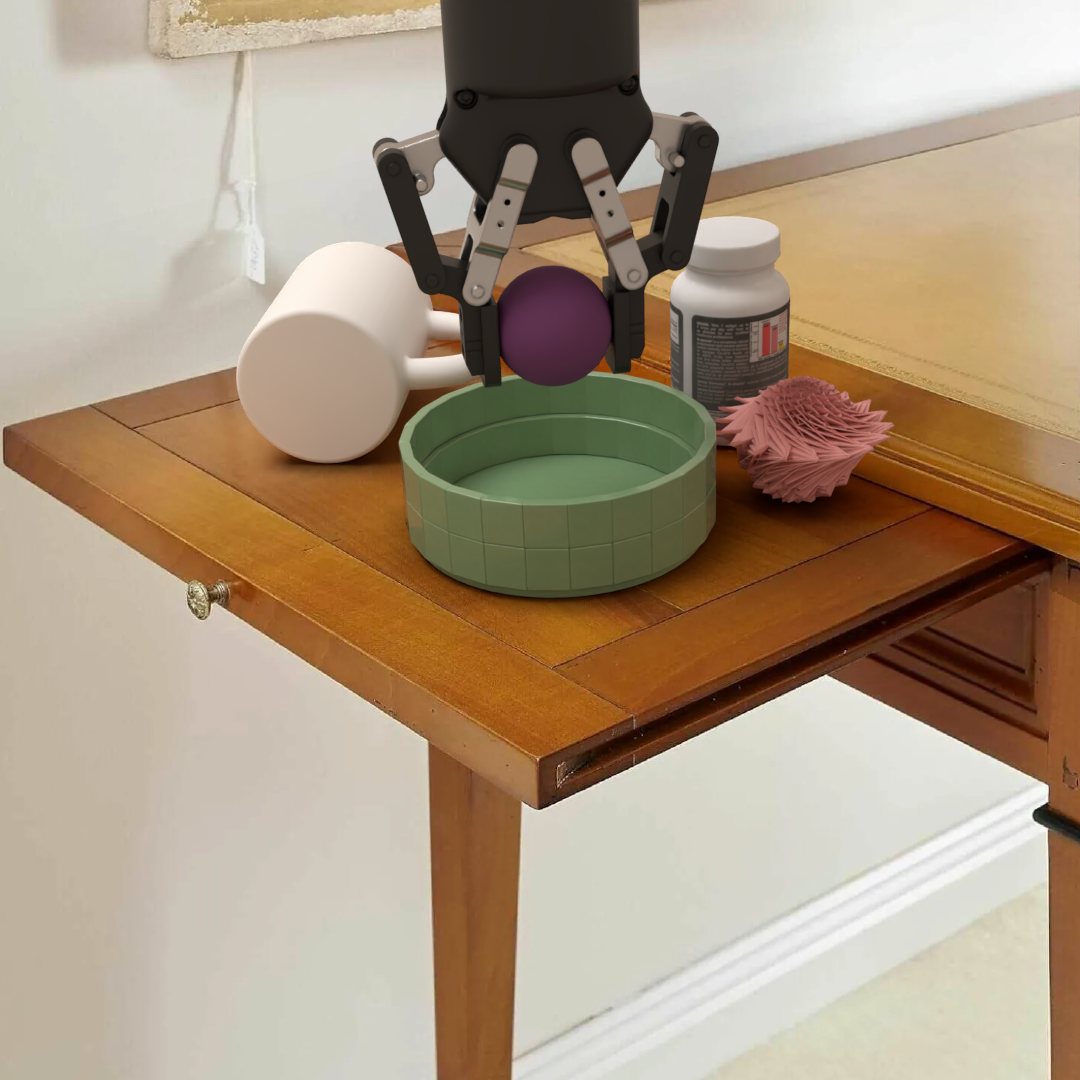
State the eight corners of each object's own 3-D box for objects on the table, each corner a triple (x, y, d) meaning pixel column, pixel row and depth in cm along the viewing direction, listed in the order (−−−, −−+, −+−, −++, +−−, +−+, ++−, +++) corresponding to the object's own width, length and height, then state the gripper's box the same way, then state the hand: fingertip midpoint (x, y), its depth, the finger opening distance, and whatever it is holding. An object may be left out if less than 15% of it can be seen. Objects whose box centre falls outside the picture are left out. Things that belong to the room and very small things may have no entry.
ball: (599, 353, 72) (596, 244, 69) (625, 397, 67) (622, 282, 65) (487, 366, 71) (480, 255, 69) (505, 411, 67) (499, 295, 64)
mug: (246, 464, 79) (224, 309, 75) (294, 383, 88) (276, 240, 84) (491, 465, 78) (480, 307, 74) (514, 383, 87) (506, 238, 83)
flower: (789, 441, 79) (793, 333, 76) (925, 493, 73) (934, 379, 71) (674, 495, 74) (674, 382, 72) (809, 554, 69) (814, 435, 66)
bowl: (672, 443, 79) (671, 356, 77) (753, 578, 67) (755, 481, 65) (393, 476, 77) (385, 388, 75) (427, 621, 66) (418, 522, 63)
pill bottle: (810, 422, 81) (818, 227, 76) (736, 460, 77) (739, 259, 72) (721, 392, 84) (723, 205, 80) (647, 428, 81) (644, 234, 76)
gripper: (353, -19, 57) (395, 429, 65) (752, -49, 59) (744, 389, 67) (338, -51, 63) (377, 359, 71) (697, -76, 65) (695, 325, 73)
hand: (554, 372), depth 69 cm, fingers closed on ball, 5 cm apart
